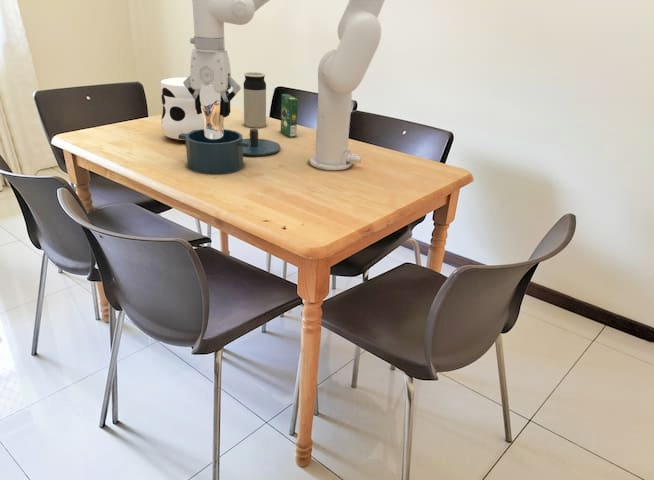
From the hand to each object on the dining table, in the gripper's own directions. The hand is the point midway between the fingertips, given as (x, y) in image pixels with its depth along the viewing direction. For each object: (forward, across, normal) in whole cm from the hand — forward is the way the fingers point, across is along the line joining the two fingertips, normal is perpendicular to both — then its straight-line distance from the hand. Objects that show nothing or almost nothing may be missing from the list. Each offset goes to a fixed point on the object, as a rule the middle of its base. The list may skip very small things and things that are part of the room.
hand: (213, 114), depth 140 cm
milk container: (+15, -19, +22) cm, 33 cm away
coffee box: (+15, +10, +40) cm, 44 cm away
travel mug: (+15, -5, +47) cm, 49 cm away
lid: (+14, +5, +19) cm, 24 cm away
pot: (+14, 0, 0) cm, 14 cm away
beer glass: (+7, 0, 0) cm, 7 cm away
